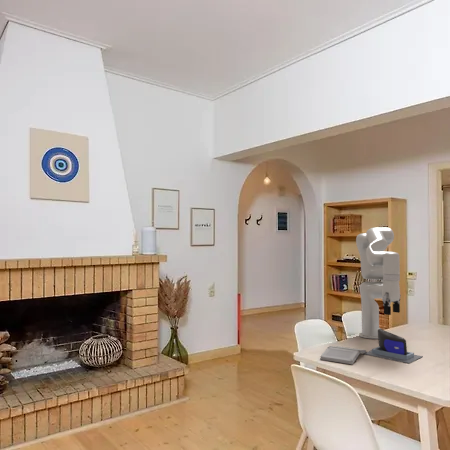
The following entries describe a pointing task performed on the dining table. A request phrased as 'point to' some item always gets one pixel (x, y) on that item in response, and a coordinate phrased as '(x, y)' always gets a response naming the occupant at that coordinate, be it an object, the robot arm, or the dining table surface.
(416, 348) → the dining table surface
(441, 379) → the dining table surface
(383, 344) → the leaning round-cornered charcoal block
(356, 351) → the gadget
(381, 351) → the switch cradle
